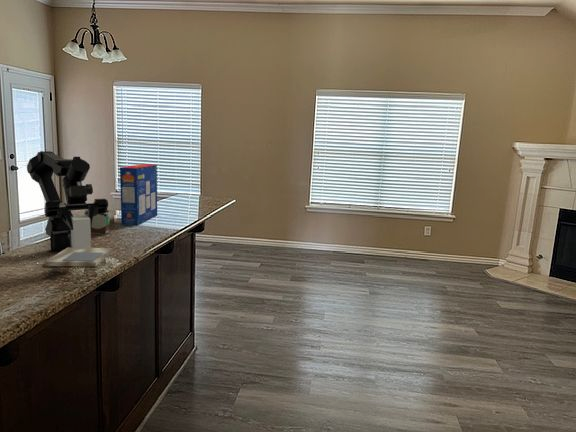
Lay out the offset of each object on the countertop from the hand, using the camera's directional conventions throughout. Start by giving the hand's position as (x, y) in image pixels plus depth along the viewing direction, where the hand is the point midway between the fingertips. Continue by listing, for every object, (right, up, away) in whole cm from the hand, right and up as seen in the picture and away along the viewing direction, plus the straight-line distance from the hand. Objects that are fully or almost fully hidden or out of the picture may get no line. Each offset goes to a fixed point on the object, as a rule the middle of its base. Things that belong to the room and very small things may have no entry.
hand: (81, 228), depth 137 cm
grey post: (-1, -6, +2) cm, 7 cm away
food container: (-16, -3, +51) cm, 53 cm away
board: (-6, -11, +11) cm, 17 cm away
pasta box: (-9, +2, +81) cm, 82 cm away
